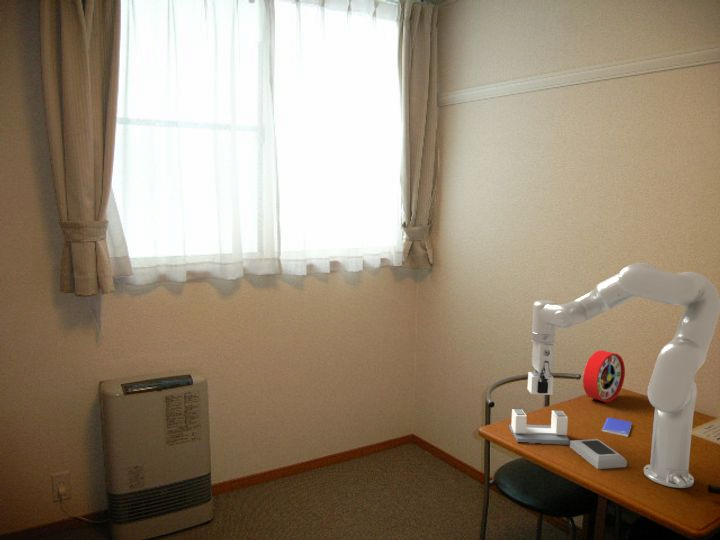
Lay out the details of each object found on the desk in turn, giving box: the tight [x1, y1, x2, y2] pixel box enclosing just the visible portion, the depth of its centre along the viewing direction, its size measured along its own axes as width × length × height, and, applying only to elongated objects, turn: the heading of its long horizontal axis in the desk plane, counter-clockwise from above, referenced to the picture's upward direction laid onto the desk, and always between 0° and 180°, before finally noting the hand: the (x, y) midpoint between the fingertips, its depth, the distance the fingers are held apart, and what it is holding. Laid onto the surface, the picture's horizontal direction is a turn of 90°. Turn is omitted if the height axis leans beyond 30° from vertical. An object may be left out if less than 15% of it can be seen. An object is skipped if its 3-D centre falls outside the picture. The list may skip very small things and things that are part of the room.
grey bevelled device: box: [569, 438, 628, 470], centre depth 167 cm, size 10×4×15 cm
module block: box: [527, 371, 555, 396], centre depth 180 cm, size 5×7×6 cm
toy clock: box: [582, 349, 626, 403], centre depth 217 cm, size 20×6×20 cm, turn 124°
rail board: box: [508, 408, 571, 446], centre depth 181 cm, size 12×17×8 cm
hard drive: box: [601, 417, 633, 437], centre depth 190 cm, size 2×8×12 cm
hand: (540, 389), depth 180 cm, fingers closed on module block, 5 cm apart
